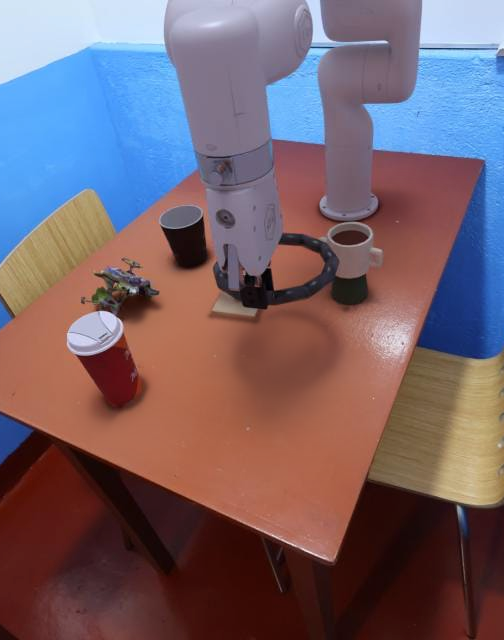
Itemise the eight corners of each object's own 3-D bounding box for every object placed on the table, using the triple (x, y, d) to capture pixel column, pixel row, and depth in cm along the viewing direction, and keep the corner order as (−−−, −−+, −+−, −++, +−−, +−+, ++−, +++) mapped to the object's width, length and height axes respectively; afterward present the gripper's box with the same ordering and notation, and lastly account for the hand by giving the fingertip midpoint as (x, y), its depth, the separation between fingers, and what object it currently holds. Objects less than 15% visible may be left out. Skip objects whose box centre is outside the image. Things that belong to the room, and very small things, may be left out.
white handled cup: (387, 293, 81) (392, 228, 72) (371, 318, 77) (375, 253, 68) (329, 278, 86) (327, 216, 77) (312, 301, 82) (308, 238, 73)
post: (228, 287, 88) (217, 236, 81) (268, 291, 86) (261, 239, 78) (212, 315, 83) (199, 264, 75) (255, 321, 80) (245, 268, 73)
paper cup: (159, 388, 72) (131, 322, 63) (119, 422, 68) (82, 357, 59) (129, 366, 76) (99, 301, 67) (90, 396, 73) (52, 332, 63)
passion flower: (151, 317, 93) (172, 279, 85) (113, 347, 85) (133, 309, 77) (108, 280, 93) (125, 239, 85) (67, 306, 85) (82, 264, 77)
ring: (239, 238, 73) (238, 227, 71) (347, 245, 67) (347, 234, 66) (195, 299, 60) (193, 288, 59) (323, 314, 55) (323, 302, 54)
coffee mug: (206, 272, 93) (195, 228, 86) (165, 271, 95) (152, 228, 88) (221, 239, 101) (212, 196, 94) (183, 238, 103) (172, 197, 96)
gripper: (245, 201, 40) (269, 350, 52) (292, 125, 50) (303, 264, 63) (166, 198, 42) (207, 341, 54) (227, 126, 52) (250, 260, 65)
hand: (258, 299), depth 58 cm, fingers closed on ring, 1 cm apart
